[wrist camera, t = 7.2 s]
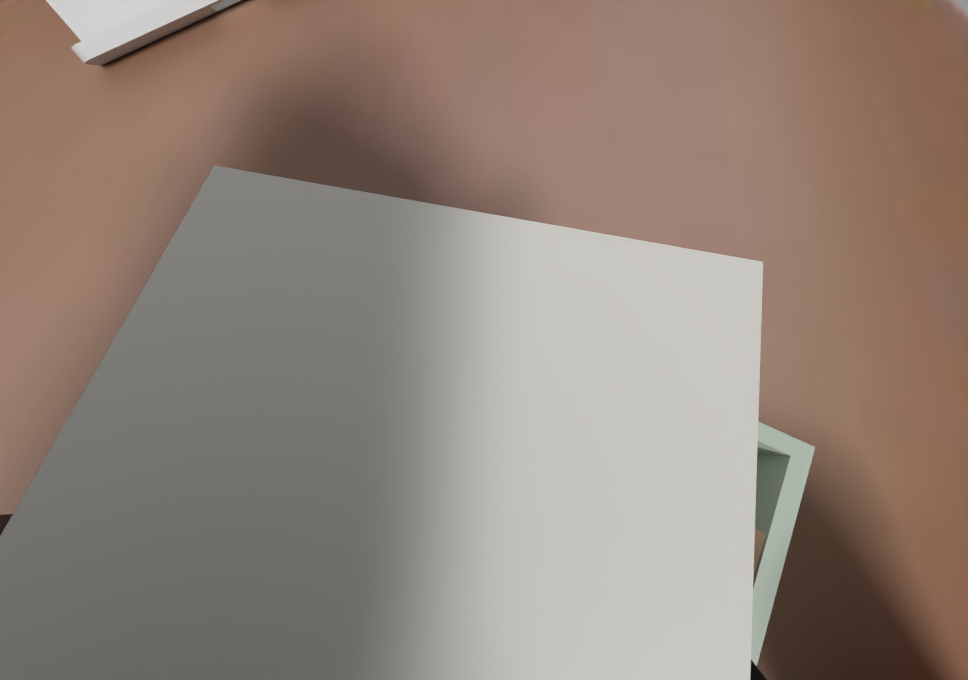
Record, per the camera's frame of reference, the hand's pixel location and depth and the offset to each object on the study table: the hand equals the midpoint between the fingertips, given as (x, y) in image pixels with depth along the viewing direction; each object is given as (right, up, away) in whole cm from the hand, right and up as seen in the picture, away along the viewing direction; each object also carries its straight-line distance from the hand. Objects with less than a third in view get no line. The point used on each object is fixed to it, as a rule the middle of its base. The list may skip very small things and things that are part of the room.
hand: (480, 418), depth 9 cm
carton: (0, -3, +6) cm, 7 cm away
